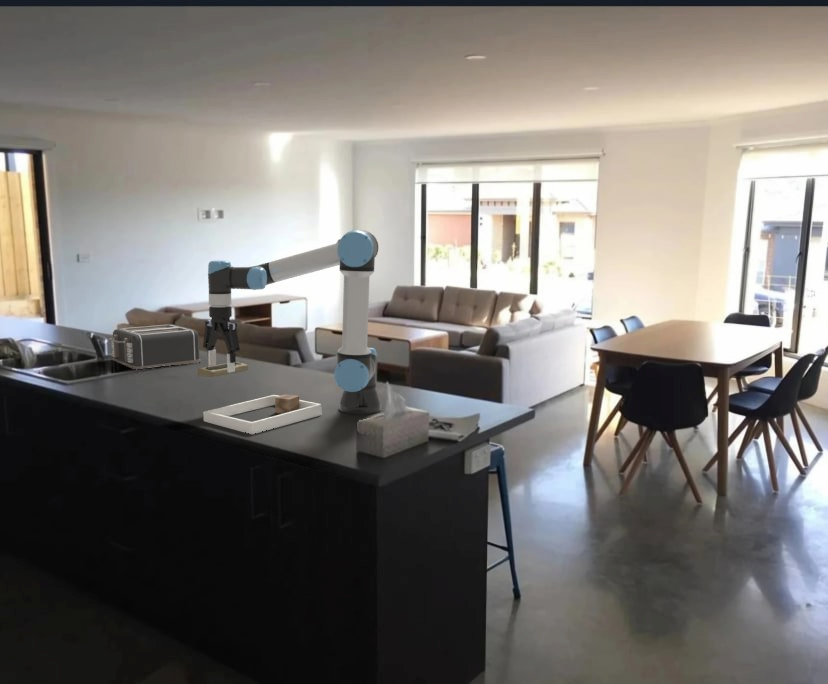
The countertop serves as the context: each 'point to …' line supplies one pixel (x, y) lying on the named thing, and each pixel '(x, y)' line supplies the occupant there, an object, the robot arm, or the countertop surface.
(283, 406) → the block
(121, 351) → the toaster
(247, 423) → the bin
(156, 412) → the countertop surface
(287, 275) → the robot arm
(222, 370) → the computer
